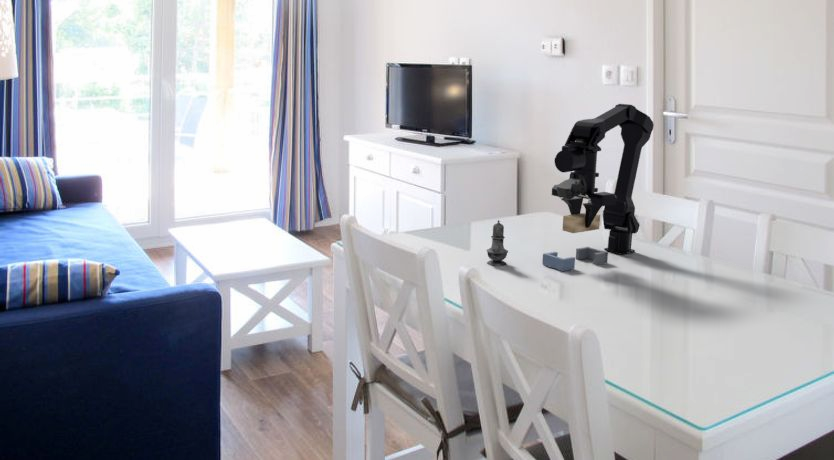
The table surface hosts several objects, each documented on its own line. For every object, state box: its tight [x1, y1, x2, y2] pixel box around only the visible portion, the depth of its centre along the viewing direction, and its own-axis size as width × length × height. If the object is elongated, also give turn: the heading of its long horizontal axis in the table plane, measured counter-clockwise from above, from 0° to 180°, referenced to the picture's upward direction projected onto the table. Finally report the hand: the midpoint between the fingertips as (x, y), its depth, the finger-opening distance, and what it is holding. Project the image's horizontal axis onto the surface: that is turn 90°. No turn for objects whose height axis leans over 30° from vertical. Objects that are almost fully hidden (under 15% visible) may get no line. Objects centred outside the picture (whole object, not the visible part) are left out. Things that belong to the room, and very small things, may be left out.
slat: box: [562, 212, 601, 234], centre depth 239 cm, size 10×4×4 cm, turn 126°
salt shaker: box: [486, 220, 509, 267], centre depth 238 cm, size 6×6×12 cm
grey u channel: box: [575, 246, 609, 266], centre depth 244 cm, size 4×8×3 cm, turn 36°
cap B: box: [541, 251, 576, 271], centre depth 236 cm, size 4×8×3 cm, turn 36°
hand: (581, 226), depth 239 cm, fingers closed on slat, 4 cm apart
